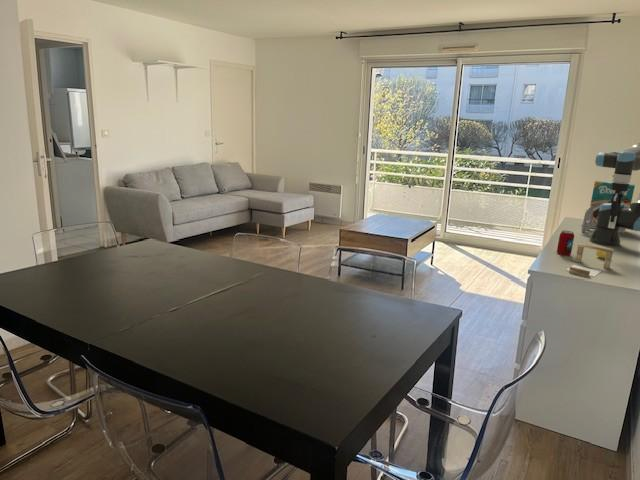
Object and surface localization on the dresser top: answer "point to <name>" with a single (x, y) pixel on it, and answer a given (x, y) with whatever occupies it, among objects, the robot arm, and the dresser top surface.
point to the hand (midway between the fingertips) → (611, 228)
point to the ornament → (586, 225)
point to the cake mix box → (607, 199)
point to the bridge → (608, 250)
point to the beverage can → (565, 243)
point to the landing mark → (592, 271)
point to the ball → (601, 254)
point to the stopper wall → (579, 271)
